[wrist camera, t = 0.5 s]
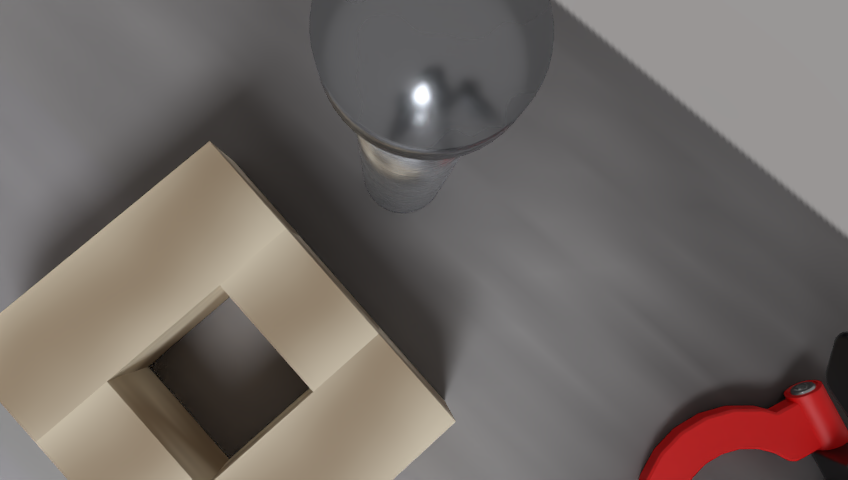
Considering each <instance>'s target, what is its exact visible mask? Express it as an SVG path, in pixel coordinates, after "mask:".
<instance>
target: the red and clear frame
mask: <svg viewBox="0 0 848 480" xmlns="http://www.w3.org/2000/svg"><path fill="white" fill-rule="evenodd" d="M784 395H785V397H786V399H785V400H783V401H781V402H779V403H778V404H776V405H774V406H772V407H770V408H768V409H765V408H761V407H757V406H723V407H719V408H716V409H712V410H708V411H705V412H701V413H698V414H696V415H695V416H693V417H691V418H690V419H688V420H686V421H685V422H683V423H682V424H680V425H678V426H677V427H675V428H673V430H672V431H671V432H670V433H669V434H668V435H667V436H666V437H665V438H664V439H663V440H662V441H661V442H660V443H659V444H658V445H657V446H656V447H655V449H654V450H653V452H652V454H651V456H650V457H649V459H648V461H647V463H646V465H645V467H644V469H643V470H642V472H641V474H640V478H639V480H692V478H693V477H694V476H695V475H696V474H697V473H698V471H699V470H700V469H701V468H702V467H703V466H704V465H705V464H706V463H708V462H710V461H711V460H713V459H715V458H716V457H718V456H720V455H721V454H724V453H728V452H731V451H735V450H738V449H760V450H764V451H768V452H772V453H775V454H777V455H778V456H780V457H782V458H784V459H786V460H788V461H798V460H800V459H802V458H804V457H805V456H807V455H809V454H811V453H812V455H813V457H814V459H815V460H816V462H817V464H818V466H819V468H820V470H821V472H822V473H823V475H824V477H825V479H826V480H848V430H847V428H846V426H845V424H844V422H843V421H842V419H841V417H840V415H839V413H838V411H837V410H836V408H835V406H834V404H833V402H832V400H831V398H830V397H829V395H828V393H827V391H826V389H825V387H824V385H823V384H822V382H821V381H819V380H807V381H803V382H799V383H797V384H794V385H792V386H791V387H789V388H788V389H787V390H786V391H785V392H784Z"/></svg>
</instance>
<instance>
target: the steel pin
mask: <svg viewBox="0 0 848 480" xmlns="http://www.w3.org/2000/svg"><path fill="white" fill-rule="evenodd" d="M310 39H311V47H312V51H313V55H314V59H315V63H316V66H317V70H318V73H319V76H320V80H321V83H322V86H323V88H324V90H325V93H326V95H327V97H328V99H329V101H330V103H331V104H332V106H333V108H334V109H335V111H336V112H337V113H338V115H339V116H340V117H341V119H342V120H343V121H344V122H345V123H346V124H347V125H348V126H349V127H350V128H351V129H352V130H353V131H354V132H355V133H356V134H357V138H358V144H359V150H360V157H361V163H362V169H363V176H364V182H365V186H366V188H367V191H368V193H369V194H370V196H371V197H372V198H373V200H374V201H375V202H376V203H377V204H379V205H380V206H381V207H383V208H385V209H387V210H389V211H392V212H397V213H410V212H414V211H417V210H419V209H421V208H423V207H425V206H426V205H427V204H429V203H430V202H431V201H432V200H433V198H434V197H435V196H436V194H437V193H438V191H439V190H440V188H441V186H442V185H443V183H444V182H445V180H446V178H447V177H448V175H449V174H450V172H451V171H452V169H453V167H454V166H455V164H456V163H457V161H458V160H459V158H460V156H463V155H466V154H469V153H471V152H474V151H476V150H479V149H481V148H482V147H484V146H486V145H488V144H489V143H491V142H493V141H494V140H495V139H496V138H498V137H499V136H500V135H502V134H503V133H504V132H505V131H506V130H507V129H508V128H509V127H510V126H511V125H512V124H513V123H514V122H515V120H516V119H517V118H518V117H519V116H520V114H521V113H522V112H523V111H524V110H525V108H526V107H527V106H528V105H529V103H530V102H531V101H532V99H533V98H534V97H535V95H536V93H537V92H538V90H539V88H540V86H541V85H542V83H543V81H544V78H545V76H546V73H547V71H548V68H549V64H550V60H551V56H552V51H553V42H554V21H553V14H552V8H551V4H550V0H312V4H311V11H310Z"/></svg>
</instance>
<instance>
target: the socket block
mask: <svg viewBox="0 0 848 480" xmlns="http://www.w3.org/2000/svg"><path fill="white" fill-rule="evenodd" d="M229 297H230V298H231V299H232V300H233V301H234V302H235V303H236V304H237V306H238V307H239V308H240V309H241V310H242V311H243V312H244V314H245V315H246V316H247V317H248V318H249V319H250V320H251V322H252V323H253V324H254V325H255V326H256V327H257V328H258V330H259V331H260V332H261V333H262V334H263V335H264V336H265V338H266V339H267V340H268V341H269V342H270V343H271V344H272V346H273V347H274V348H275V349H276V350H277V351H278V352H279V354H280V355H281V356H282V357H283V358H284V359H285V360H286V362H287V363H288V364H289V365H290V366H291V367H292V368H293V370H294V371H295V372H296V373H297V374H298V375H299V376H300V377H301V379H302V380H303V381H304V382H305V383H306V384H307V385H308V387H309V389H308V390H307V391H305V392H304V393H303V394H302V395H301V396H300V397H299V398H298V399H296V400H295V401H294V402H293V403H292V404H291V405H290V406H289V407H287V408H286V409H285V410H284V411H283V412H282V413H281V414H280V415H278V416H277V417H276V418H275V419H274V420H273V421H272V422H271V423H269V424H268V425H267V426H266V427H265V428H264V429H263V430H261V431H260V432H259V433H258V434H257V435H256V436H255V437H254V438H252V439H251V440H250V441H249V442H248V443H247V444H246V445H245V446H243V447H242V448H241V449H240V450H239V451H238V452H237V453H236V454H234V455H233V456H232V457H231V458H230V459H229V458H228V457H227V456H226V455H225V454H224V453H223V452H222V450H221V449H220V448H219V447H218V446H217V445H216V444H215V442H214V441H213V440H212V439H211V438H210V437H209V436H208V434H207V433H206V432H205V431H204V430H203V429H202V428H201V426H200V425H199V424H198V423H197V422H196V421H195V420H194V418H193V417H192V416H191V415H190V414H189V413H188V412H187V410H186V409H185V408H184V407H183V406H182V405H181V404H180V402H179V401H178V400H177V399H176V398H175V397H174V396H173V394H172V393H171V392H170V391H169V390H168V389H167V388H166V386H165V385H164V384H163V383H162V382H161V381H160V380H159V378H158V377H157V376H156V375H155V374H154V373H153V372H152V370H151V369H150V368H149V367H148V366H149V365H151V364H152V363H153V362H154V361H155V360H156V359H158V358H159V357H160V356H161V355H162V354H163V353H165V352H166V351H167V350H168V349H169V348H170V347H172V346H173V345H174V344H175V343H176V342H177V341H179V340H180V339H181V338H182V337H183V336H184V335H186V334H187V333H188V332H189V331H190V330H191V329H193V328H194V327H195V326H196V325H197V324H198V323H200V322H201V321H202V320H203V319H204V318H205V317H207V316H208V315H209V314H210V313H211V312H212V311H214V310H215V309H216V308H217V307H218V306H219V305H221V304H222V303H223V302H224V301H225V300H226V299H228V298H229ZM0 402H1V404H2V405H3V406H4V407H5V408H6V409H7V410H8V412H9V413H10V414H11V415H12V416H13V417H14V418H15V420H16V421H17V422H18V423H19V424H20V425H21V427H22V428H23V429H24V430H25V431H26V432H27V433H28V435H29V436H30V437H31V438H32V439H33V440H34V441H35V443H36V444H37V445H38V446H39V447H40V448H41V449H42V451H43V452H44V453H45V454H46V455H47V456H48V457H49V459H50V460H51V461H52V462H53V463H54V464H55V465H56V467H57V468H58V469H59V470H60V471H61V472H62V473H63V475H64V476H65V477H66V478H67V479H68V480H393V479H394V478H395V477H396V476H397V475H398V474H399V473H401V472H402V471H403V470H404V469H405V468H406V467H407V466H408V465H409V464H410V463H411V462H412V461H414V460H415V459H416V458H417V457H418V456H419V455H420V454H421V453H422V452H423V451H424V450H425V449H427V448H428V447H429V446H430V445H431V444H432V443H433V442H434V441H435V440H436V439H437V438H439V437H440V436H441V435H442V434H443V433H444V432H445V431H446V430H447V429H448V428H449V427H450V426H452V425H453V424H454V423H455V422H456V421H455V419H454V417H453V416H452V414H451V412H450V410H449V408H448V406H447V404H446V403H445V401H444V400H443V399H442V398H441V396H440V395H439V394H438V393H437V392H436V391H435V390H434V388H433V387H432V386H431V385H430V384H429V383H428V382H427V380H426V379H425V378H424V377H423V376H422V375H421V374H420V372H419V371H418V370H417V369H416V368H415V367H414V366H413V364H412V363H411V362H410V361H409V360H408V359H407V358H406V357H405V355H404V354H403V353H402V352H401V351H400V350H399V349H398V347H397V346H396V345H395V344H394V343H393V342H392V341H391V339H390V338H389V337H388V336H387V335H386V334H385V333H384V331H383V330H382V329H381V328H380V327H379V326H378V325H377V323H376V322H375V321H374V320H373V319H372V318H371V317H370V316H369V314H368V313H367V312H366V311H365V310H364V309H363V308H362V306H361V305H360V304H359V303H358V302H357V301H356V300H355V298H354V297H353V296H352V295H351V294H350V293H349V292H348V290H347V289H346V288H345V287H344V286H343V285H342V284H341V282H340V281H339V280H338V279H337V278H336V277H335V276H334V275H333V273H332V272H331V271H330V270H329V269H328V268H327V267H326V265H325V264H324V263H323V262H322V261H321V260H320V259H319V257H318V256H317V255H316V254H315V253H314V252H313V251H312V249H311V248H310V247H309V246H308V245H307V244H306V243H305V241H304V240H303V239H302V238H301V237H300V236H299V235H298V233H297V232H296V231H295V230H294V229H293V228H292V227H291V226H290V224H289V223H288V222H287V221H286V220H285V219H284V218H283V216H282V215H281V214H280V213H279V212H278V211H277V210H276V208H275V207H274V206H273V205H272V204H271V203H270V202H269V200H268V199H267V198H266V197H265V196H264V195H263V194H262V192H261V191H260V190H259V189H258V188H257V187H256V186H255V185H254V183H253V182H252V181H251V180H250V179H249V178H248V177H247V175H246V174H245V173H244V172H243V171H242V170H241V169H240V167H239V166H238V165H237V164H236V163H235V162H234V161H233V160H232V159H231V158H229V157H228V156H227V155H226V154H225V153H223V152H222V151H221V150H220V149H218V148H217V147H216V146H215V145H214V144H212V143H211V142H210V141H209V142H208V143H207V144H205V145H204V146H203V147H202V148H200V149H199V150H198V151H197V152H196V153H194V154H193V155H192V156H191V157H190V158H188V159H187V160H186V161H185V162H183V163H182V164H181V165H180V166H179V167H177V168H176V169H175V170H174V171H172V172H171V173H170V174H169V175H168V176H166V177H165V178H164V179H163V180H162V181H160V182H159V183H158V184H157V185H155V186H154V187H153V188H152V189H151V190H149V191H148V192H147V193H146V194H145V195H143V196H142V197H141V198H140V199H138V200H137V201H136V202H135V203H134V204H132V205H131V206H130V207H129V208H127V209H126V210H125V211H124V212H123V213H121V214H120V215H119V216H118V217H117V218H115V219H114V220H113V221H112V222H110V223H109V224H108V225H107V226H106V227H104V228H103V229H102V230H101V231H100V232H98V233H97V234H96V235H95V236H93V237H92V238H91V239H90V240H89V241H87V242H86V243H85V244H84V245H83V246H81V247H80V248H79V249H78V250H76V251H75V252H74V253H73V254H72V255H70V256H69V257H68V258H67V259H65V260H64V261H63V262H62V263H61V264H59V265H58V266H57V267H56V268H55V269H53V270H52V271H51V272H50V273H48V274H47V275H46V276H45V277H44V278H42V279H41V280H40V281H39V282H38V283H36V284H35V285H34V286H33V287H31V288H30V289H29V290H28V291H27V292H25V293H24V294H23V295H22V296H20V297H19V298H18V299H17V300H16V301H14V302H13V303H12V304H11V305H10V306H8V307H7V308H6V309H5V310H3V311H2V312H1V313H0Z"/></svg>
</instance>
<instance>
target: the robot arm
mask: <svg viewBox="0 0 848 480" xmlns="http://www.w3.org/2000/svg"><path fill="white" fill-rule="evenodd" d="M826 381H827V384H828V386H829V389H830V391H831V392H832V394H833V395H834V397H835V398H836V400H837V401H838V403H839V404H840V406H841V407H842V409H843V410H844V412H845V413H846V415H847V416H848V331H846V332H843V333H840V334H839V335H838V336H837V337H836V339H835V341H834V345H833V349H832V352H831V356H830V359H829V363H828V366H827V370H826Z"/></svg>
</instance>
